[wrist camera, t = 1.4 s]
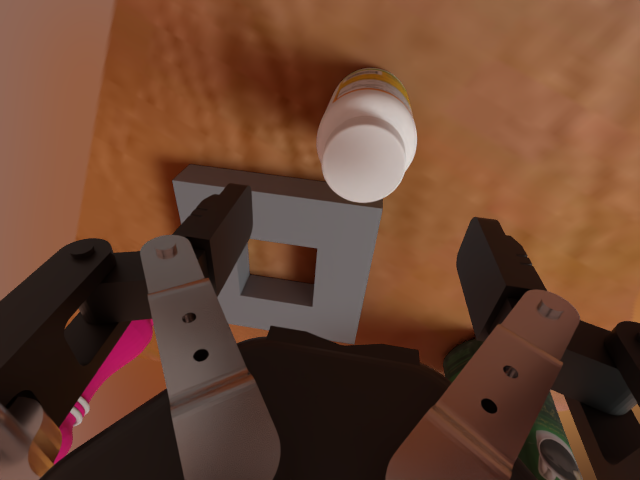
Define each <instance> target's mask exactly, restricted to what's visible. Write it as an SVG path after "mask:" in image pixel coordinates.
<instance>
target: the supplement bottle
mask: <svg viewBox="0 0 640 480" xmlns="http://www.w3.org/2000/svg"><path fill="white" fill-rule="evenodd" d="M416 146H417V132H416V126H415V122H414V119H413V115H412V110H411V106H410V102H409V98H408V95H407V92H406V90H405V88H404V86H403V85H402V83H401V82H400V81H399V80H398V79H397V77H395V76H394V75H393V74H391V73H390V72H388V71H385V70H382V69H378V68H364V69H360V70H357V71H355V72H353V73H351V74H349V75H348V76H347V77H345V78H344V79H343V80H342V81H341V82H340V84H339V85H338V86H337V88H336V90H335V91H334V93H333V95H332V97H331V100H330V102H329V104H328V106H327V109H326V111H325V113H324V115H323V117H322V120H321V122H320V125H319V128H318V133H317V152H318V156H319V159H320V161H321V164H322V172H323V175H324V178H325V180H326V182H327V184H328V185H329V187H330V188H331V189H332V190H333V191H334V192H335V193H336V194H338V195H339V196H341V197H342V198H344V199H346V200H349V201H353V202H359V203H367V202H373V201H377V200H380V199H382V198H384V197H386V196H388V195H389V194H390V193H391V192H393V191H394V190H395V189H396V188H397V186H398V185H399V184H400V182H401V180H402V178H403V176H404V173H405V171H406V170H407V168H408V167H409V165H410V164H411V162H412V160H413V157H414V155H415V151H416Z"/></svg>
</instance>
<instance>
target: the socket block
mask: <svg viewBox="0 0 640 480" xmlns="http://www.w3.org/2000/svg"><path fill="white" fill-rule="evenodd" d="M172 182H173V187H174V192H175V197H176V201H177V206H178V211H179V216H180V220H181V224H182V223H183V222H184V221H185V220H186V218H187V217H188V216H190V214H191V213H192V212H193V210H194V209H196V207H197V206H198V205H199V204H200V202H201V201H202V200H204V199H205V198H207V197H209V196H211V195H213V194H218V195H220V193H221V192H222V191H223V190H224V188H225V187H226V186H227V185H228V184H229V183H234V184H242V185H249V186H250V187H251V191H252V210H253V229H252V233H251V236H250V238H249V239H256V240H263V241H270V242H277V243H284V244H291V245H297V246H304V247H311V248H317V260H316V272H315V284H308V283H302V282H295V281H289V280H283V279H276V278H270V277H263V276H257V275H250V271H249V257H248V243H247V244H246V246H245V248H244V250H243V251H242V253H241V255H240V257H239V259H238V261H237V262H236V264H235V266H234V268H233V270H232V272H231V273H230V275H229V277H228V279H227V281H226V283H225V285H224V286H223V288H222V290H221V292H220V294H219V296H218V297H217V298H218V301H219V303H220V306H221V308H222V310H223V313H224V315H225V318H226V320H227V322H228V324H234V325H240V326H246V327H252V328H258V329H264V330H269V329H270V326H277V327H283V328H289V329H295V330H301V331H306V332H309V333H311V334H314V335H316V336H319V337H321V338H324V339H326V340H330V341H336V342H342V343H348V344H354V343H355V338H356V333H357V329H358V324H359V319H360V314H361V310H362V305H363V300H364V295H365V290H366V286H367V281H368V276H369V271H370V267H371V262H372V257H373V252H374V248H375V243H376V238H377V233H378V228H379V224H380V219H381V214H382V209H383V198H382V199H380V200H377V201H373V202H367V203H359V202H353V201H349V200H346V199H344V198H342V197H341V196H339V195H338V194H336V193H335V192H334V191H333V190H332V189H331V188H330V187H329V185H328V184H327V182H322V181H314V180H307V179H299V178H292V177H284V176H276V175H269V174H261V173H253V172H246V171H238V170H230V169H223V168H215V167H208V166H200V165H192V164H189V165H188V166H187V167H186V168H185V169H184V170H183V171H182V172H181V173H180V174H178V175H177V176H176V177H175V178H174V179H173V180H172Z"/></svg>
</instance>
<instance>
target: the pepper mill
mask: <svg viewBox="0 0 640 480" xmlns="http://www.w3.org/2000/svg"><path fill="white" fill-rule="evenodd" d="M152 326H153V320H152V319H145V320H135V321H132V322H131V323H130V324H129V326H128V327H127V329H126V330H125V332H124V333H123V335H122V336H121V338H120V339H119V341H118V342H117V344H116V345H115V346H114V348H113V349H112V351H111V352H110V354H109V355H108V357H107V358H106V360H105V361H104V363H103V364H102V366H101V367H100V368H99V370H98V371H97V373H96V374H95V376H94V377H93V379H92V380H91V382H90V383H89V385H88V386H87V387H86V389H85V390H84V392H83V393H82V395H81V396H80V398H79V399H78V401H77V402H76V404H75V405H74V407H73V408H72V409H71V411H70V412H69V414H68V415H67V417H66V418H65V420H64V421H63V423H62V424H61V426H60V427H59V430H60V431H61V434H62V444H61V448H60V451H59V453H58V455H57V457H56V459H55V461H54V465H55V464H56V463H57V462H58V461H59V460H61V459H62V458H63V457H65V456H66V454H67V453H68V451H69V449H70V448H71V445H72V440H73V436H72V428H73V426H76V425H78V424H80V423H81V422H82V419H83V417H84V415H85V414H87V413H88V412H89V409H90V407H89V404H88V403H89V402H90V400H91V398H92V396H93V395H94V393H95V392H96V391H97V390H98V388H99V387H100V386H101V385H102V383H103V382H104V381H105V380H106V379H107V378H108V377H110V376H111V375H112V374H113V373H115V372H116V371H117V370H119V369H120V368H121V367H123V366H124V365H126V364H127V363H128V362H130V361H131V360H133V359H134V358H135V357H137V356H138V355H139V354H140V353H141V352H142V351H143V350H144V349H145V347H146V346H147V345H148V343H149V342H150V340H151V338H152V334H153V331H152Z"/></svg>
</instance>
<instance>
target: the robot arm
mask: <svg viewBox="0 0 640 480" xmlns="http://www.w3.org/2000/svg"><path fill="white" fill-rule="evenodd" d="M252 229H253V210H252V191H251V187H250V186H249V185H242V184H234V183H229V184H228V185H227V186H226V187H225V188H224V190H223V191H222V192H221V193H220V195H218V194H213V195H211V196H209V197H207V198H205V199H204V200H202V201H201V202H200V204H199V205H198V206H197V207H196V209H194V210H193V212H192V213H191V214H190V216H188V217H187V218H186V220H185V221H184V222H183V223H182V224H181V225H180V226H179V228H178V229H177V230H176V231H175V232H174V233H173V234H172V235H165V236H160V237H157V238H154V239H152V240H150V241H148V242H147V243H146V244H144V245H143V247H142V248H141V251H137V252H121V253H113V250H112V247H111V245H110V243H109V242H107V241H105V240H103V239H96V238H91V239H83V240H79V241H75V242H73V243H70V244H68V245H66V246H64V247H63V248H61V249H60V250H59V251H58V252H57V253H55V254H54V255H53V256H52V257H51V258H50V259H48V260H47V261H46V262H45V263H44V264H43V265H42V266H40V267H39V268H38V269H37V270H36V271H35V272H33V273H32V274H31V275H30V276H29V277H28V278H27V279H26V280H24V281H23V282H22V283H21V284H20V285H18V286H17V287H16V288H15V289H14V290H13V291H12V292H10V293H9V294H8V295H7V296H6V297H5V298H3V299H2V300H1V301H0V480H538V479H537V478H536V477H535V476H534V475H533V474H532V473H531V471H530V470H529V469H528V468H527V467H526V466H525V464H524V463H523V462H522V461H521V460H520V459H519V458H518V455H519V453H520V451H521V449H522V447H523V445H524V443H525V441H526V439H527V437H528V435H529V432H530V430H531V428H532V426H533V424H534V422H535V420H536V418H537V416H538V414H539V412H540V410H541V408H542V406H543V404H544V402H545V400H546V398H547V396H548V394H549V392H550V390H554V391H556V392H558V393H561V394H563V395H564V397H565V399H566V402H567V404H568V407H569V409H570V412H571V414H572V417H573V419H574V422H575V425H576V427H577V430H578V432H579V435H580V437H581V440H582V442H583V445H584V447H585V450H586V452H587V455H588V457H589V460H590V462H591V465H592V467H593V470H594V473H595V475H596V478H597V480H640V424H639V423H638V421H637V419H636V417H635V416H634V413H633V412H632V410H631V408H633V407H634V406H635V405H636V404H637V403H638V405H639V407H640V323H637V322H631V321H624V322H620V323H619V324H617V326H616V327H615V328H614V329H613V330H612V331H608V330H605V329H603V328H600V327H597V326H594V325H592V324H589V323H586V322H583V321H581V320H580V316H579V314H578V312H577V310H576V309H575V308H574V307H573V306H572V305H571V304H570V303H569V302H568V301H566V300H565V299H563V298H562V297H560V296H558V295H556V294H554V293H551V292H548V291H547V290H546V288H545V286H544V284H543V283H542V281H541V279H540V277H539V275H538V274H537V272H536V270H535V268H534V267H533V266H532V263H531V261H530V259H529V258H527V254H526V252H525V251H524V249H523V247H522V245H520V244H519V243H518V242H517V241H516V240H515V239H513V238H512V237H511V236H507V235H505V233H504V231H503V229H502V227H501V225H500V223H499V222H498V220H494V219H486V218H479V217H474V218H473V219H472V220H471V222H470V224H469V226H468V229H467V231H466V234H465V236H464V239H463V242H462V244H461V247H460V249H459V252H458V255H457V262H456V266H457V271H458V275H459V278H460V282H461V286H462V289H463V293H464V296H465V300H466V304H467V307H468V311H469V315H470V318H471V322H472V325H473V329H474V333H475V336H476V340H479V341H484V343H483V344H482V345H481V346H480V348H479V349H478V350H477V352H476V353H475V354H474V355H473V357H472V358H471V359H470V361H469V362H468V363H467V364H466V366H465V367H464V368H463V370H462V371H461V372H460V373H459V375H458V376H457V377H456V379H455V380H454V381H453V382H451V381H449V380H448V379H447V378H446V377H444V376H443V375H442V374H440V373H439V372H437V371H436V370H434V369H432V368H430V367H428V366H426V365H424V364H422V363H420V361H419V351H418V350H415V349H409V348H403V347H397V346H391V345H385V344H370V345H351V346H343V345H339V344H336V343H334V342H331V341H329V340H326V339H324V338H321V337H319V336H316V335H314V334H311V333H309V332H306V331H301V330H295V329H289V328H283V327H277V326H270V329H269V332H268V335H267V337H258V338H252V339H248V340H245V341H242V342H239V343H237V344H236V341H235V339H234V337H233V334H232V332H231V329H230V327H229V325H228V322H227V320H226V318H225V315H224V313H223V310H222V308H221V306H220V303H219V301H218V298H217V297H218V296H219V294H220V292H221V290H222V288H223V286H224V285H225V283H226V281H227V279H228V277H229V275H230V273H231V272H232V270H233V268H234V266H235V264H236V262H237V261H238V259H239V257H240V255H241V253H242V251H243V250H244V248H245V246H246V244H247V242H248V240H249V238H250V236H251V233H252ZM78 308H79V310H80V312H79V313H78V315H77V316H76V317H75V318H74V319H73V320H72V321H71V323H70V324H69V325H68V326H67V327H66V328H65V326H66V323H67V321H68V320H69V318H70V317H71V316H72V315H73V314H74V313H75V312H76V310H77V309H78ZM145 319H152V320H153V325H154V329H155V334H156V339H157V344H158V348H159V353H160V358H161V363H162V367H163V372H164V377H165V381H166V387H167V389H165V390H164V391H162V392H160V393H159V394H158V395H156V396H154V397H153V398H152V399H150V400H149V401H147V402H146V403H144V404H142V405H141V406H140V407H138V408H136V409H135V410H134V411H132V412H131V413H129V414H128V415H126V416H124V417H123V418H121V419H120V420H118V421H117V422H115V423H114V424H112V425H111V426H109V427H108V428H106V429H105V430H103V431H102V432H101V433H99V434H97V435H96V436H94V437H93V438H91V439H90V440H88V441H87V442H85V443H84V444H82V445H81V446H79V447H78V448H76V449H75V450H73V451H72V452H70V453H69V454H68V455H66V456H65V457H63V458H62V459H61V460H59V461H58V462H57V463H56V464H55V465H54V461H55V459H56V457H57V455H58V453H59V451H60V448H61V444H62V434H61V431H60V430H59V427H60V426H61V424H62V423H63V421H64V420H65V418H66V417H67V415H68V414H69V412H70V411H71V409H72V408H73V407H74V405H75V404H76V402H77V401H78V399H79V398H80V396H81V395H82V393H83V392H84V390H85V389H86V387H87V386H88V385H89V383H90V382H91V380H92V379H93V377H94V376H95V374H96V373H97V371H98V370H99V368H100V367H101V366H102V364H103V363H104V361H105V360H106V358H107V357H108V355H109V354H110V352H111V351H112V349H113V348H114V346H115V345H116V344H117V342H118V341H119V339H120V338H121V336H122V335H123V333H124V332H125V330H126V329H127V327H128V326H129V324H130V323H131V322H132V321H135V320H145ZM64 329H65V330H64Z"/></svg>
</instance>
